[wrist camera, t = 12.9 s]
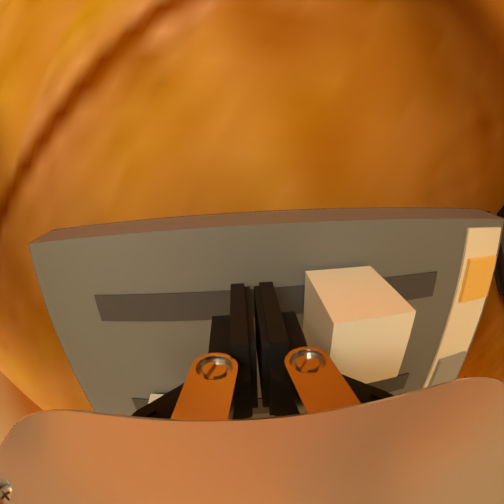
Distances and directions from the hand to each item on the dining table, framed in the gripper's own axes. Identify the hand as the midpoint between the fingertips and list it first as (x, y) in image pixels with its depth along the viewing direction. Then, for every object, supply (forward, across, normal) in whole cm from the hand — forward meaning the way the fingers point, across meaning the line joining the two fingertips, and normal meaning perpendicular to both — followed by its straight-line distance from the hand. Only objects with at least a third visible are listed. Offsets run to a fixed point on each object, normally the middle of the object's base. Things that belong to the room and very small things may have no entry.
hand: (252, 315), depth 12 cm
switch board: (+4, -2, +7) cm, 8 cm away
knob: (+1, -4, 0) cm, 4 cm away
